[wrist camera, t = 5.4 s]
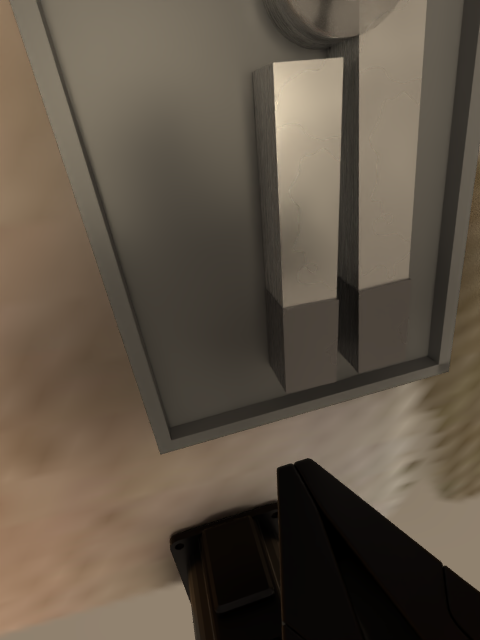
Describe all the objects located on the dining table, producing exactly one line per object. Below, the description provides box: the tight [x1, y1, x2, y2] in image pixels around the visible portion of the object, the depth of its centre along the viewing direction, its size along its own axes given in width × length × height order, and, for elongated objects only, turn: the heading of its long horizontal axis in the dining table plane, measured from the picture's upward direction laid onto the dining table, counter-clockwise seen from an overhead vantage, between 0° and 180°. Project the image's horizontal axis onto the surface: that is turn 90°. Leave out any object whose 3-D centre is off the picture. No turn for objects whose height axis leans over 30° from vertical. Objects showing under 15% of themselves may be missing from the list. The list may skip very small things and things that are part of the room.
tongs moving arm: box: [253, 57, 343, 394], centre depth 14 cm, size 11×2×2 cm, turn 5°
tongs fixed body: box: [263, 0, 427, 373], centre depth 13 cm, size 18×4×2 cm, turn 8°
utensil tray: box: [9, 0, 480, 454], centre depth 13 cm, size 23×14×2 cm, turn 8°
